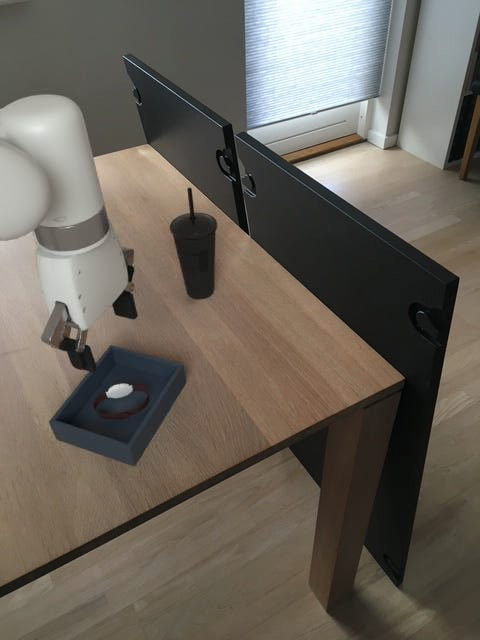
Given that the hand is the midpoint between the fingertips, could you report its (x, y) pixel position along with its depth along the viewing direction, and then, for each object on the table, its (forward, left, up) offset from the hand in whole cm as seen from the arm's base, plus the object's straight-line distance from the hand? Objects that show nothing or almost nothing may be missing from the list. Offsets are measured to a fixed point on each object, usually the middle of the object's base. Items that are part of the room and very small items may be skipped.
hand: (106, 340), depth 67 cm
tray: (0, 0, -13) cm, 13 cm away
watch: (0, 0, -13) cm, 13 cm away
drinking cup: (+28, +1, -14) cm, 31 cm away
